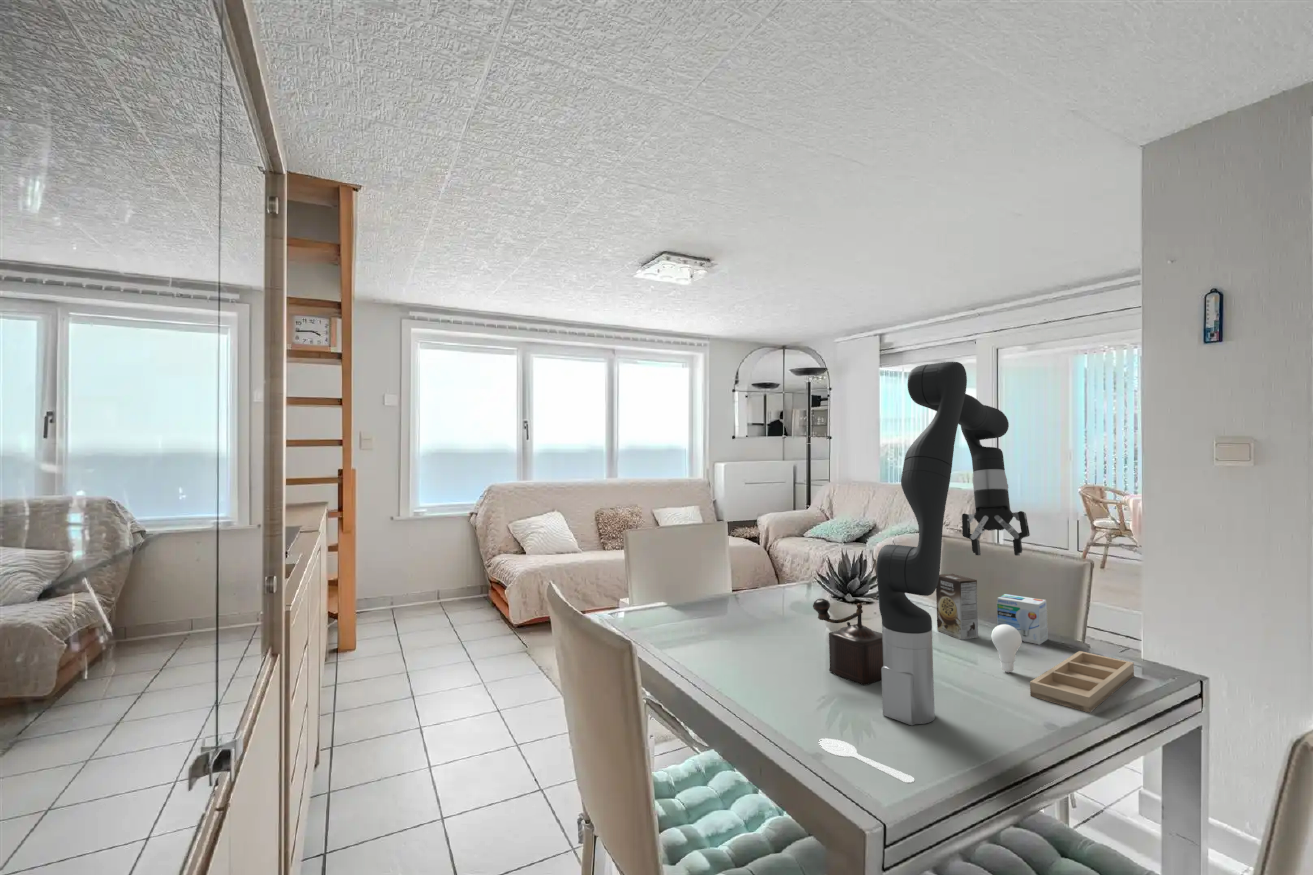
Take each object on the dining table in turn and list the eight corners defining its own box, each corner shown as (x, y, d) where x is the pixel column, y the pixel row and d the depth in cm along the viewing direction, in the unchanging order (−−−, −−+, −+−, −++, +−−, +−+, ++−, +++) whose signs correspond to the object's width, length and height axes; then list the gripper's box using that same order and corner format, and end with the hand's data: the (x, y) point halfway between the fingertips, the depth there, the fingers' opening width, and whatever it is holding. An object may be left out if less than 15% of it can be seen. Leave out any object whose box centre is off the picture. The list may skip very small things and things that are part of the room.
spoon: (904, 790, 92) (904, 786, 92) (810, 746, 106) (810, 743, 106) (922, 777, 95) (922, 774, 95) (828, 736, 110) (828, 733, 110)
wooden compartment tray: (1089, 712, 117) (1089, 697, 117) (1030, 696, 125) (1029, 681, 125) (1134, 675, 135) (1133, 662, 135) (1079, 663, 143) (1079, 650, 143)
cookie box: (936, 630, 171) (934, 574, 171) (954, 628, 173) (952, 572, 173) (961, 640, 162) (959, 580, 162) (979, 637, 164) (977, 579, 164)
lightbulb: (1027, 677, 135) (1025, 629, 135) (997, 676, 136) (996, 628, 136) (1016, 668, 141) (1015, 621, 141) (988, 666, 142) (987, 620, 142)
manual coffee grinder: (856, 662, 147) (853, 589, 147) (894, 676, 137) (892, 598, 138) (810, 675, 139) (808, 598, 139) (848, 691, 129) (845, 608, 130)
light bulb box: (996, 636, 165) (995, 597, 165) (1005, 631, 169) (1004, 593, 170) (1041, 645, 157) (1039, 604, 157) (1048, 639, 161) (1047, 599, 162)
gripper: (955, 489, 150) (961, 554, 147) (1019, 485, 141) (1027, 554, 137) (964, 493, 156) (970, 555, 152) (1026, 489, 146) (1034, 555, 143)
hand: (997, 555), depth 145 cm, fingers open, 8 cm apart
